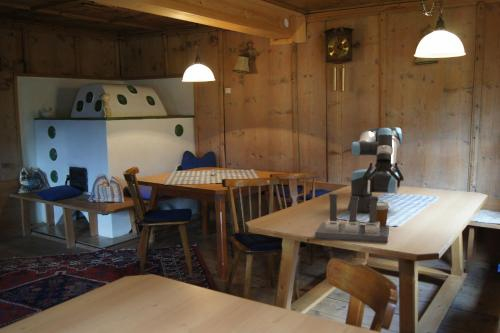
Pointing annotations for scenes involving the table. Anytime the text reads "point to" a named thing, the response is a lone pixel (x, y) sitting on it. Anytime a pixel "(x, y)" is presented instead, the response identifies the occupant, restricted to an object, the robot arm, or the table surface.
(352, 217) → the middle handle
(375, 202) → the end handle
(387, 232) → the breaker panel
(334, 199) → the handle
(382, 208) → the disposable coffee cup
